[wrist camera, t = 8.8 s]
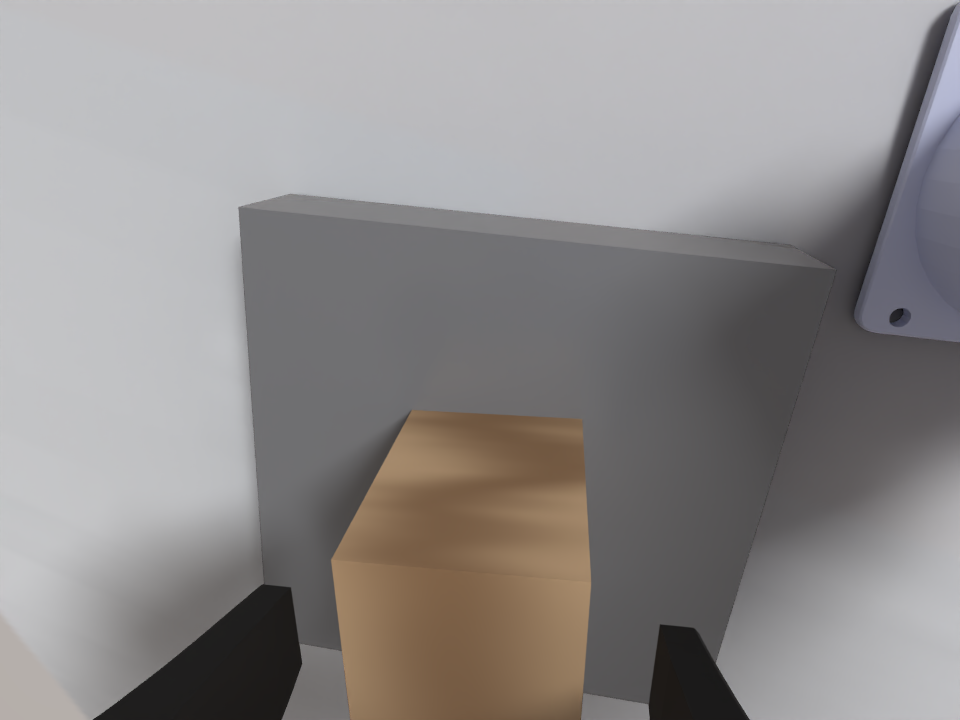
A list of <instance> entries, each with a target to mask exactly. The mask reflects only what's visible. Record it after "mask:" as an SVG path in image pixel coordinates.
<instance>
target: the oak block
mask: <svg viewBox="0 0 960 720" xmlns="http://www.w3.org/2000/svg"><path fill="white" fill-rule="evenodd" d="M331 563H332V572H333V580H334V588H335V597H336V605H337V613H338V622H339V630H340V638H341V647H342V655H343V663H344V672H345V680H346V688H347V697H348V705H349V713H350V720H581V711H582V698H583V685H584V672H585V658H586V645H587V632H588V619H589V605H590V592H591V569H590V551H589V533H588V515H587V497H586V479H585V461H584V442H583V424H582V419H573V418H554V417H536V416H517V415H498V414H479V413H460V412H441V411H422V410H412V411H411V412H410V414H409V416H408V418H407V420H406V422H405V424H404V425H403V427H402V429H401V431H400V433H399V435H398V437H397V438H396V440H395V442H394V444H393V446H392V448H391V450H390V451H389V453H388V455H387V457H386V459H385V461H384V463H383V464H382V466H381V468H380V470H379V472H378V474H377V476H376V477H375V479H374V481H373V483H372V485H371V487H370V489H369V490H368V492H367V494H366V496H365V498H364V500H363V502H362V503H361V505H360V507H359V509H358V511H357V513H356V515H355V516H354V518H353V520H352V522H351V524H350V526H349V528H348V529H347V531H346V533H345V535H344V537H343V539H342V541H341V542H340V544H339V546H338V548H337V550H336V552H335V554H334V555H333V557H332V559H331Z"/></svg>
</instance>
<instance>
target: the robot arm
mask: <svg viewBox="0 0 960 720" xmlns="http://www.w3.org/2000/svg"><path fill="white" fill-rule="evenodd" d="M899 308H903V315H902V317H901V318H900V319H899V320H898V321H896V322H892V323H890V322H889V316H890V315H891V313H892V312H893V311H895V310H896V309H899ZM854 318H855V321H856V323H857V324H858V325H860V326H861V327H862V328H863V329H865V330H866V331H870V332H873V333H881V334H889V335H898V336H907V337H916V338H925V339H933V340H942V341H951V342H960V3H959V4H958V5H957V6H956V7H955V9H954V11H953V13H952V15H951V17H950V20H949V23H948V26H947V30H946V33H945V36H944V39H943V42H942V45H941V48H940V51H939V54H938V57H937V60H936V63H935V66H934V69H933V72H932V75H931V78H930V81H929V84H928V87H927V91H926V94H925V97H924V100H923V103H922V106H921V109H920V112H919V115H918V118H917V121H916V124H915V127H914V130H913V133H912V136H911V139H910V142H909V145H908V148H907V152H906V155H905V158H904V161H903V164H902V167H901V170H900V173H899V176H898V179H897V182H896V185H895V188H894V191H893V194H892V197H891V200H890V203H889V206H888V209H887V213H886V216H885V219H884V222H883V225H882V228H881V231H880V234H879V237H878V240H877V243H876V246H875V249H874V252H873V255H872V258H871V261H870V264H869V267H868V270H867V273H866V277H865V280H864V283H863V286H862V289H861V292H860V295H859V298H858V301H857V304H856V307H855V311H854ZM301 665H302V659H301V652H300V646H299V639H298V632H297V625H296V618H295V611H294V605H293V598H292V591H291V587H284V586H274V585H264V584H262V585H261V586H260V587H259V588H257V589H256V590H255V591H254V592H252V593H251V594H250V595H249V596H248V597H247V598H245V599H244V600H243V601H242V602H241V603H239V604H238V605H237V606H236V607H235V608H233V609H232V610H231V611H230V612H229V613H228V614H226V615H225V616H224V617H223V618H222V619H221V620H219V621H218V622H217V623H216V624H215V625H213V626H212V627H211V628H210V629H209V630H208V631H206V632H205V633H204V634H203V635H202V636H200V637H199V638H198V639H197V640H196V641H194V642H193V643H192V644H191V645H190V646H188V647H187V648H186V649H185V650H183V651H182V652H181V653H180V654H179V655H177V656H176V657H175V658H174V659H173V660H171V661H170V662H169V663H168V664H166V665H165V666H164V667H163V668H161V669H160V670H159V671H157V672H156V673H155V674H154V675H152V676H151V677H150V678H148V679H147V680H146V681H144V682H143V683H142V684H140V685H139V686H138V687H137V688H135V689H134V690H133V691H131V692H130V693H129V694H127V695H126V696H125V697H124V698H122V699H121V700H120V701H118V702H117V703H116V704H114V705H113V706H112V707H110V708H109V709H107V710H106V711H105V712H103V713H102V714H100V715H99V716H98V717H96V718H95V719H93V720H281V719H282V717H283V715H284V712H285V709H286V707H287V704H288V702H289V699H290V696H291V694H292V691H293V688H294V685H295V682H296V680H297V677H298V674H299V671H300V668H301ZM649 715H650V720H750V719H749V718H748V716H747V715H746V713H745V712H744V710H743V709H742V707H741V705H740V704H739V702H738V701H737V699H736V697H735V696H734V694H733V692H732V691H731V689H730V687H729V686H728V684H727V682H726V681H725V679H724V677H723V676H722V674H721V672H720V670H719V669H718V667H717V665H716V663H715V662H714V660H713V658H712V656H711V654H710V653H709V651H708V649H707V647H706V645H705V643H704V642H703V640H702V638H701V636H700V634H699V633H698V632H697V630H696V629H695V628H692V627H682V626H672V625H662V624H660V627H659V634H658V641H657V648H656V655H655V662H654V670H653V677H652V684H651V691H650V698H649Z"/></svg>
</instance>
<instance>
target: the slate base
mask: <svg viewBox="0 0 960 720" xmlns="http://www.w3.org/2000/svg"><path fill="white" fill-rule="evenodd" d="M239 222H240V236H241V251H242V266H243V280H244V295H245V310H246V324H247V339H248V354H249V368H250V383H251V398H252V412H253V427H254V442H255V456H256V471H257V486H258V500H259V515H260V530H261V544H262V559H263V574H264V585H274V586H284V587H291V591H292V598H293V605H294V611H295V618H296V625H297V632H298V639H299V643H300V644H306V645H311V646H317V647H323V648H329V649H334V650H340V651H342V647H341V638H340V630H339V622H338V613H337V605H336V597H335V588H334V580H333V572H332V563H331V559H332V557H333V555H334V554H335V552H336V550H337V548H338V546H339V544H340V542H341V541H342V539H343V537H344V535H345V533H346V531H347V529H348V528H349V526H350V524H351V522H352V520H353V518H354V516H355V515H356V513H357V511H358V509H359V507H360V505H361V503H362V502H363V500H364V498H365V496H366V494H367V492H368V490H369V489H370V487H371V485H372V483H373V481H374V479H375V477H376V476H377V474H378V472H379V470H380V468H381V466H382V464H383V463H384V461H385V459H386V457H387V455H388V453H389V451H390V450H391V448H392V446H393V444H394V442H395V440H396V438H397V437H398V435H399V433H400V431H401V429H402V427H403V425H404V424H405V422H406V420H407V418H408V416H409V414H410V412H411V411H412V410H422V411H441V412H460V413H479V414H498V415H517V416H536V417H554V418H573V419H582V424H583V442H584V461H585V479H586V497H587V515H588V533H589V551H590V569H591V592H590V605H589V619H588V632H587V645H586V658H585V672H584V685H583V693H587V694H593V695H599V696H604V697H610V698H616V699H622V700H627V701H633V702H639V703H645V704H649V698H650V691H651V684H652V677H653V670H654V662H655V655H656V648H657V641H658V634H659V627H660V624H662V625H672V626H682V627H692V628H695V629H696V630H697V632H698V633H699V634H700V636H701V638H702V640H703V642H704V643H705V645H706V647H707V649H708V651H709V653H710V654H711V656H712V658H713V660H714V662H715V663H716V660H717V656H718V653H719V650H720V647H721V643H722V640H723V637H724V634H725V630H726V627H727V624H728V621H729V617H730V614H731V611H732V608H733V604H734V601H735V598H736V595H737V591H738V588H739V585H740V582H741V578H742V575H743V572H744V569H745V565H746V562H747V559H748V556H749V552H750V549H751V546H752V543H753V539H754V536H755V533H756V530H757V526H758V523H759V520H760V517H761V514H762V510H763V507H764V504H765V501H766V497H767V494H768V491H769V488H770V484H771V481H772V478H773V475H774V471H775V468H776V465H777V462H778V458H779V455H780V452H781V449H782V445H783V442H784V439H785V436H786V432H787V429H788V426H789V423H790V419H791V416H792V413H793V410H794V406H795V403H796V400H797V397H798V393H799V390H800V387H801V384H802V380H803V377H804V374H805V371H806V367H807V364H808V361H809V358H810V354H811V351H812V348H813V345H814V342H815V338H816V335H817V332H818V329H819V325H820V322H821V319H822V316H823V312H824V309H825V306H826V303H827V299H828V296H829V293H830V290H831V286H832V283H833V280H834V277H835V273H836V269H834V268H832V267H830V266H828V265H827V264H825V263H823V262H821V261H819V260H817V259H815V258H814V257H812V256H810V255H808V254H806V253H804V252H802V251H801V250H799V249H797V248H795V247H793V246H791V245H786V244H776V243H766V242H757V241H747V240H737V239H727V238H717V237H708V236H698V235H688V234H678V233H668V232H659V231H649V230H639V229H629V228H619V227H610V226H600V225H590V224H580V223H571V222H561V221H551V220H541V219H531V218H522V217H512V216H502V215H492V214H482V213H473V212H463V211H453V210H443V209H434V208H424V207H414V206H404V205H394V204H385V203H375V202H365V201H355V200H345V199H336V198H326V197H316V196H306V195H297V194H288V195H284V196H280V197H276V198H272V199H268V200H264V201H260V202H256V203H252V204H248V205H245V206H241V207H239Z"/></svg>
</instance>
